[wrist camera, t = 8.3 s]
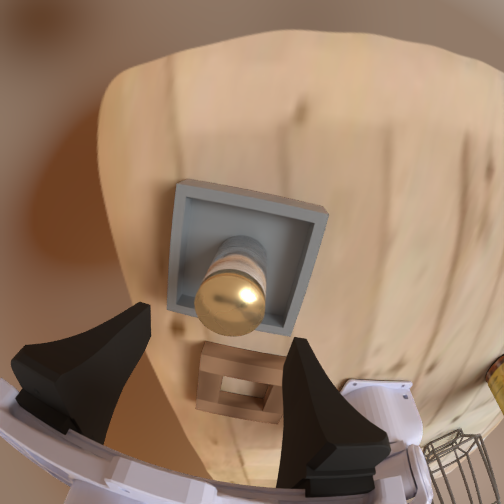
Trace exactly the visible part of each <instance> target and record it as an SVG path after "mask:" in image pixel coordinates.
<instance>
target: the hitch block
mask: <svg viewBox="0 0 504 504" xmlns="http://www.w3.org/2000/svg"><path fill="white" fill-rule="evenodd" d="M285 360H286V357H284V356H278V355H272V354H266V353H261V352H255V351H250V350H245V349H240V348H235V347H230V346H226V345H221V344H217V343H212V342H208V341H205V344H204V347H203V350H202V353H201V359H200V368H199V378H198V388H197V399H196V409H197V410H201V411H205V412H209V413H214V414H219V415H224V416H229V417H234V418H239V419H245V420H251V421H258V422H265V423H272V424H278V423H279V421H280V419H281V417H282V415H283V395H282V375H283V365H284V362H285ZM223 376H227V377H232V378H237V379H242V380H247V381H253V382H259V383H265V384H269V386H268V389H267V391H266V394H265V396H264V399H263V398H257V397H251V396H245V395H240V394H234V393H229V392H224V391H220V389H221V384H222V379H223Z"/></svg>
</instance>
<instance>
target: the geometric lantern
mask: <svg viewBox="0 0 504 504" xmlns="http://www.w3.org/2000/svg"><path fill="white" fill-rule="evenodd" d="M457 431H458V435H457V437H456V438H455V439H453V440H451V441H450V442H448V443H446V444H444V445H441V446H439V447H437V448H435V449H434V447H433V445H432V443H434V442H436V441H438V440H440V439H443V438H445V437H447V436H449V435H451V434H453V433H455V432H457ZM460 432H461V433H462V435H461V433H460ZM459 435H460V436H459ZM458 436H459V437H458ZM460 437H462V438H461V440H460V442H459V444H457V442H456V440H457V439H458V438H460ZM463 437H470V438H468V439H467V440H465V441H463V442H461V441H462V439H463ZM473 438H474V439H475V441H474V442H473V444H472V445H471V447H470V448H469V450H468V451H467V452H465V451H463V450H462V449H460V448H459V446H460V445H462V444H464V443H466V442H468V441H469V440H471V439H473ZM478 438H479V439H480V441H481V444H482V447H483V450H484V453H485V456H486V459H487V461H486V459H485V456H484V454H483V451H482V449H481V446H480V444H479V442H478ZM453 441H454V442H453ZM451 442H453V443H452V444H450V445H448V446H446V447H444V448H442V449H439V448H441V447H443V446H445V445H447V444H449V443H451ZM454 443H455V444H456V445H455V446H454V445H453V444H454ZM475 443H476V444H477V446H478V449H479V451H480V454H481V456H482V459H483V461H484V464H485V467H486V469H487V472H488V475H489V478H490V481H491V484H492V487H493V490H494V493H495V496H496V499H497V501H495V502H494V503H492V504H495V503H497V504H501V502H500V497H499V493H498V489H497V485H496V481H495V478H494V473H493V470H492V467H491V463H490V460H489V457H488V454H487V451H486V448H485V445H484V442H483V439H482V437H481V434H477V435H474V434H463V431H462V429H457V430H456V431H454V432H452V433H450V434H448V435H446V436H443V437H441V438H439V439H437V440H435V441H432V442H430V443H429V444H428V445H427V446H426V448H425V451H424V453H423V455H424V457H427V460H426V458H425V460H426V463H427V466H428V470H429V474H430V477H431V480H432V482H433V485H434V487H435V490H436V492H437V495H438V498H439V500H440V503H441V504H444V502H443V500H442V497H441V495H440V492H439V489H438V487H437V484H436V482H435V479H434V477H433V474H432V473H435V472H437V471H439V470H441V472H442V475H443V477H444V480H445V483H446V486H447V489H448V491H449V494H450V497H451V500H452V503H453V504H456V503H455V500H454V497H453V494H452V491H451V488H450V485H449V483H448V480H447V477H446V474H445V472H444V469H443V468H445V467H447V466H449V465H451V464H453V463H455V462H457V463H458V465H459V468H460V471H461V474H462V477H463V480H464V483H465V486H466V490H467V493H468V496H469V500H470V503H471V504H473V501H472V498H471V494H470V491H469V488H468V485H467V482H466V479H465V476H464V473H463V470H462V467H461V464H460V461H459V460H460V459H461V458H463V457H464V456H467V459H468V463H469V466H470V469H471V473H472V476H473V480H474V483H475V487H476V491H477V495H478V499H479V503H480V504H482V501H481V497H480V493H479V489H478V485H477V481H476V478H475V474H474V471H473V468H472V465H471V461H470V459H469V455H468V453H469V451H470V450H471V448H472V447H473V446H474V444H475ZM429 445H431V447H432V449H433V450H432V451H431V452H430V449H429ZM451 445H452V447H451V448H449V449H447V450H444V451H442V452H440V453H438V454H436V452H438V451H440V450H443V449H445V448H447V447H449V446H451ZM427 449H428V452H429V454H428V455H425V452H426V450H427ZM437 449H439V450H437ZM452 449H453V450H452ZM455 449H459V450H460V451H462V452H463V453H465V454H464V455H463V456H461V457H460V458H458V456H457V453H456V450H455ZM435 450H437V451H435ZM450 450H451V451H450ZM448 451H449V452H448ZM452 451H454V452H455V455H456V458H457V459H456V460H455V461H453V462H451V463H449V464H447V465H445V466H442V464H441V461H440V459H439V458H441V457H443V456H445V455H447V454H448V453H450V452H452ZM432 452H433V453H432ZM446 452H448V453H446ZM443 453H446V454H444V455H442V456H440V457H439V455H441V454H443ZM432 454H434V456H433V457H432V458H431V459H429V457H430V455H432ZM435 457H436V459H434V458H435ZM433 459H434V460H433ZM435 460H437V462H438V464H439V467H440V468H439V469H437V470H434V471H432V472H431V470H430V467H429V463H431V462H433V461H435ZM487 463H488V464H487ZM488 466H489V467H488ZM431 504H434V502H433V499H432V502H431Z"/></svg>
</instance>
